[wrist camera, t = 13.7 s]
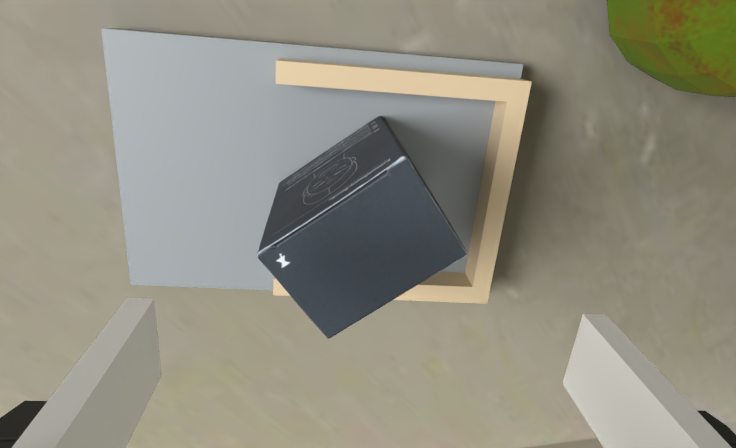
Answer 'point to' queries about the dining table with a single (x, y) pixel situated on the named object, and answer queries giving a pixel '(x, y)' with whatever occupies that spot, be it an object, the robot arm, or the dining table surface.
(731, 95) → the apple
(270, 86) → the dock
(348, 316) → the box
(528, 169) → the dining table surface
